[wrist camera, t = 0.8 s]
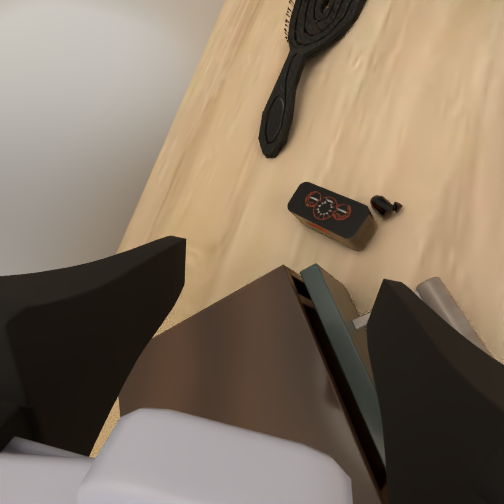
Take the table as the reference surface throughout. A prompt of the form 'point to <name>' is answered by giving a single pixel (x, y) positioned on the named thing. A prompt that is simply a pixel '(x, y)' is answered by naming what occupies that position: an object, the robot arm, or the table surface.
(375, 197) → the wireless earbuds
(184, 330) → the cabinet
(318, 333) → the drawer
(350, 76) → the table surface
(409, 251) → the table surface
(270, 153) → the hairbrush
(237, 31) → the table surface
